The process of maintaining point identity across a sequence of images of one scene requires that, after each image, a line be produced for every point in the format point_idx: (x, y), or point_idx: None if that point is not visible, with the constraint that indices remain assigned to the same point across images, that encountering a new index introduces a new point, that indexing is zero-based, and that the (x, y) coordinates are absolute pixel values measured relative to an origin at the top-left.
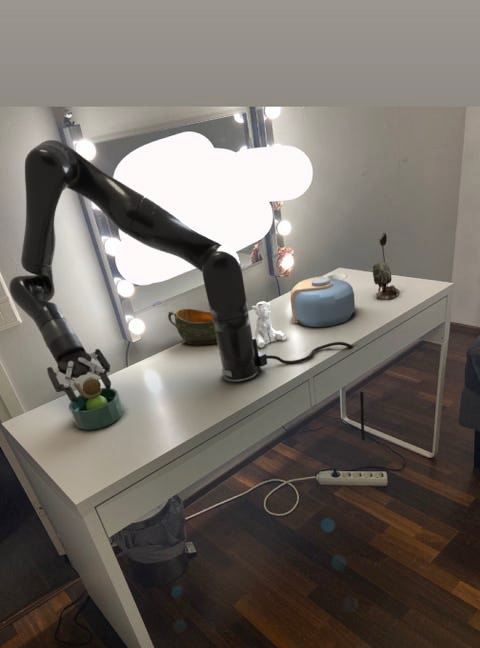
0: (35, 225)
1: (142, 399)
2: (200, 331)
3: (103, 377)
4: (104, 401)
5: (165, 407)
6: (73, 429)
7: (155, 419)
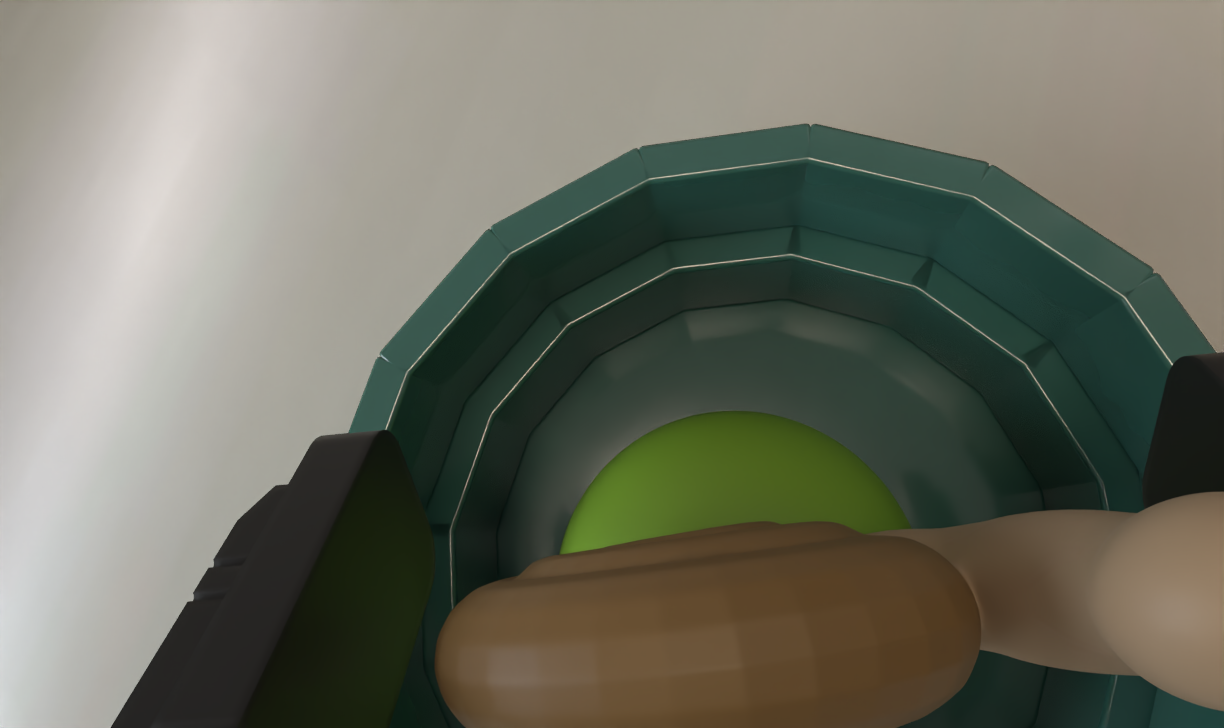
0: None
1: (174, 608)
2: None
3: (264, 609)
4: (613, 470)
5: (111, 200)
6: None
7: (296, 41)
